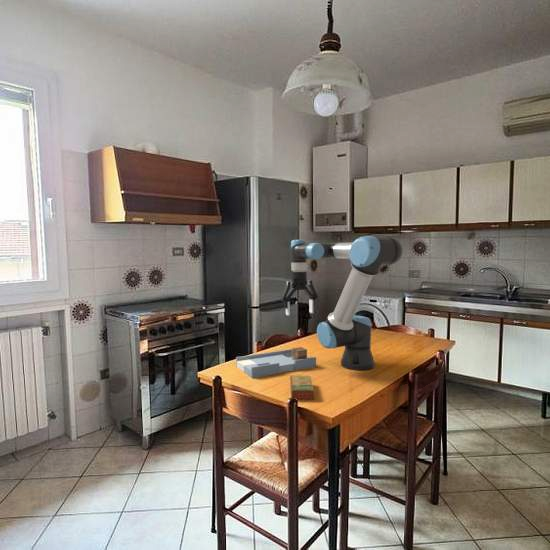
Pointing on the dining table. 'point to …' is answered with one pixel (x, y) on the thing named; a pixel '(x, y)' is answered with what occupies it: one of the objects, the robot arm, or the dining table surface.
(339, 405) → the dining table surface
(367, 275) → the robot arm
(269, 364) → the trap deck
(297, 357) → the block
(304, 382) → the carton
